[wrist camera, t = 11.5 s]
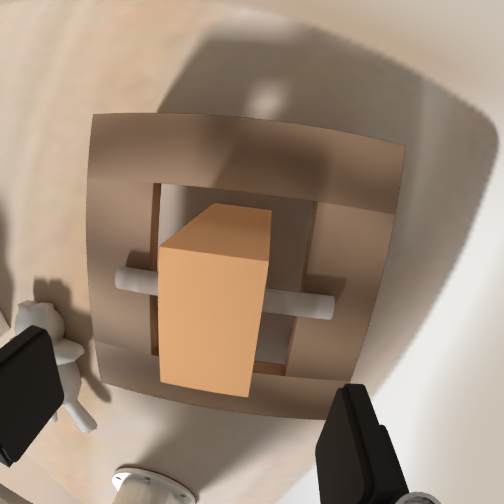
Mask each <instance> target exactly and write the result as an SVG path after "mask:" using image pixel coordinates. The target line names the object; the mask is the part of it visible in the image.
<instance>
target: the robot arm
mask: <svg viewBox="0 0 504 504" xmlns="http://www.w3.org/2000/svg"><path fill="white" fill-rule="evenodd" d="M63 401H64V391H63V387H62V384H61V380H60V376H59V372H58V367H57V363H56V358H55V354H54V349H53V344H52V339H51V336H50V335H49V334H48V331H47V330H46V329H44V328H41V327H38V326H35V325H31V326H29V327H28V328H26V329H25V330H24V331H22V332H21V333H20V334H18V335H17V336H16V337H15V338H13V339H12V340H11V341H9V342H8V343H7V344H5V345H4V346H3V347H2V348H0V462H1V463H3V464H4V465H6V466H8V467H10V466H11V465H12V464H13V462H17V461H18V460H19V459H20V457H21V456H22V455H23V453H24V452H25V451H26V449H27V448H28V447H29V446H30V444H31V443H32V442H33V440H34V439H35V438H36V436H37V435H38V434H39V432H40V431H41V430H42V429H43V427H44V426H45V425H46V424H47V422H48V421H49V420H50V418H51V417H52V416H53V415H54V413H55V412H56V411H57V410H58V408H59V407H60V406H61V405H62V403H63ZM315 456H316V465H317V474H318V483H319V491H320V502H321V504H441V503H440V502H439V501H438V500H437V499H436V498H435V497H433V496H432V495H430V494H427V493H423V492H413V493H409V490H408V487H407V484H406V481H405V478H404V476H403V472H402V470H401V467H400V464H399V461H398V458H397V456H396V453H395V450H394V447H393V445H392V442H391V439H390V436H389V434H388V431H387V429H386V427H385V426H384V425H379V422H378V420H377V417H376V414H375V411H374V409H373V406H372V403H371V401H370V398H369V395H368V393H367V390H366V387H365V386H364V385H363V384H345V385H344V386H343V388H338V389H337V391H336V394H335V397H334V399H333V402H332V405H331V408H330V411H329V413H328V416H327V419H326V421H325V424H324V427H323V429H322V432H321V435H320V437H319V440H318V442H317V445H316V450H315ZM112 482H113V485H114V486H115V488H116V489H117V490H118V493H117V495H116V497H115V500H114V502H113V504H195V498H194V496H193V495H192V493H191V492H190V491H189V490H188V489H186V488H185V487H184V486H182V485H181V484H179V483H177V482H176V481H174V480H172V479H170V478H167V477H165V476H163V475H160V474H157V473H154V472H151V471H148V470H143V469H138V468H122V469H119V470H117V471H116V472H115V473H114V475H113V477H112ZM0 504H33V503H31V502H29V501H27V500H25V499H24V498H22V497H20V496H19V495H17V494H16V493H14V492H13V491H11V490H9V489H8V488H6V487H5V486H3V485H2V484H0Z"/></svg>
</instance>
